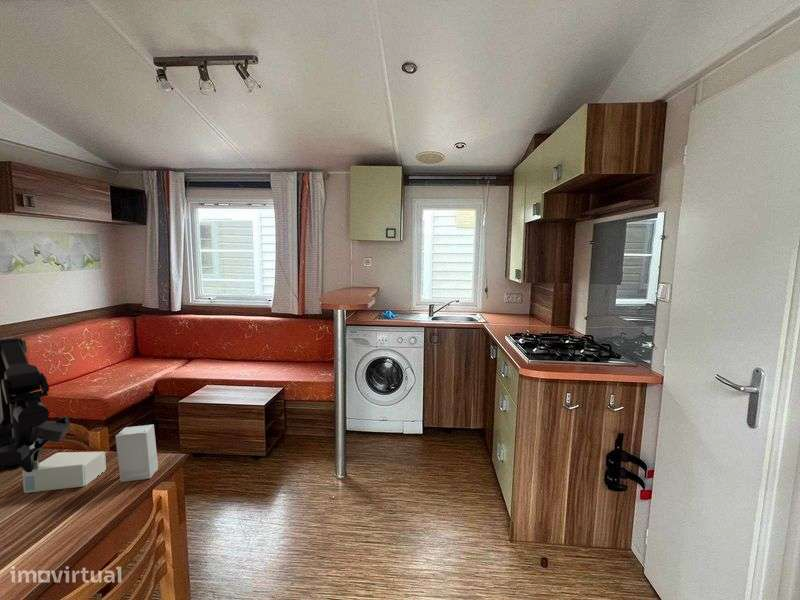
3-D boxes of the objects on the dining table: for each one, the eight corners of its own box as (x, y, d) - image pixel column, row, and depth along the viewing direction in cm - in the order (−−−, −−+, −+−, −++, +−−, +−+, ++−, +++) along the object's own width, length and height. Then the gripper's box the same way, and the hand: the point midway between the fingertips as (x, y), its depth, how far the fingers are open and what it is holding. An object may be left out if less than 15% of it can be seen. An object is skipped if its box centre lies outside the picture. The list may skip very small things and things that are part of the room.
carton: (34, 486, 103) (32, 466, 103) (58, 471, 111) (57, 452, 111) (85, 485, 104) (84, 465, 104) (106, 470, 112) (105, 451, 112)
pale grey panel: (23, 493, 100) (21, 463, 99) (25, 491, 101) (23, 462, 100) (83, 486, 103) (81, 457, 103) (84, 485, 104) (82, 456, 103)
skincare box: (158, 468, 113) (156, 423, 112) (149, 479, 108) (147, 432, 106) (128, 471, 112) (125, 425, 110) (117, 483, 106) (114, 434, 104)
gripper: (42, 428, 92) (47, 485, 94) (80, 401, 110) (83, 449, 111) (-15, 433, 89) (-9, 493, 90) (33, 404, 106) (38, 454, 108)
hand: (31, 470), depth 100 cm, fingers closed
